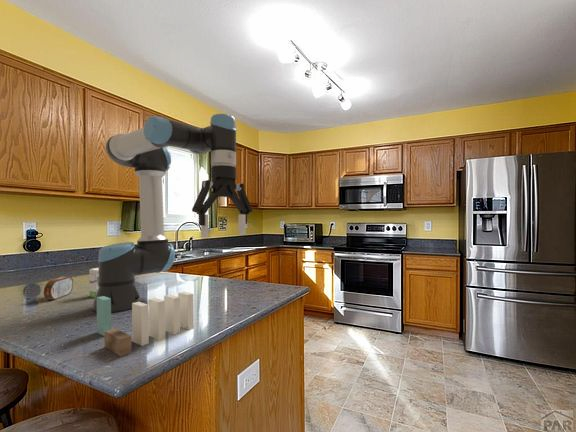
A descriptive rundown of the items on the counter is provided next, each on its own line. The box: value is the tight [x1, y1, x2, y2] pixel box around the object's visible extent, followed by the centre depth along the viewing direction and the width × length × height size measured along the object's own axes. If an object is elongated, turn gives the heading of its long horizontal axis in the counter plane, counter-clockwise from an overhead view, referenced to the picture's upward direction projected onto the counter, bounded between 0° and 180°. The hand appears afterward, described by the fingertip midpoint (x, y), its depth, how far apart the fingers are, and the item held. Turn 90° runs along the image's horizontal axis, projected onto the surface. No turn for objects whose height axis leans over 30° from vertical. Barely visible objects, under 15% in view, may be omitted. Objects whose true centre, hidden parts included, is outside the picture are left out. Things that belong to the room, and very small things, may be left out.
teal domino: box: [96, 296, 112, 337], centre depth 85 cm, size 2×5×10 cm, turn 52°
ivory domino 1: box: [131, 301, 150, 347], centre depth 78 cm, size 2×5×10 cm, turn 52°
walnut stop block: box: [104, 328, 132, 358], centre depth 73 cm, size 9×2×4 cm, turn 52°
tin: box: [43, 275, 74, 301], centre depth 127 cm, size 15×3×8 cm, turn 5°
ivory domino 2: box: [148, 297, 166, 341], centre depth 81 cm, size 2×5×10 cm, turn 52°
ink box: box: [88, 267, 99, 299], centre depth 129 cm, size 9×5×12 cm, turn 149°
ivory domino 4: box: [177, 291, 195, 330], centre depth 89 cm, size 2×5×10 cm, turn 52°
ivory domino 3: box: [163, 294, 181, 335], centre depth 85 cm, size 2×5×10 cm, turn 52°
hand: (224, 235), depth 91 cm, fingers open, 13 cm apart
